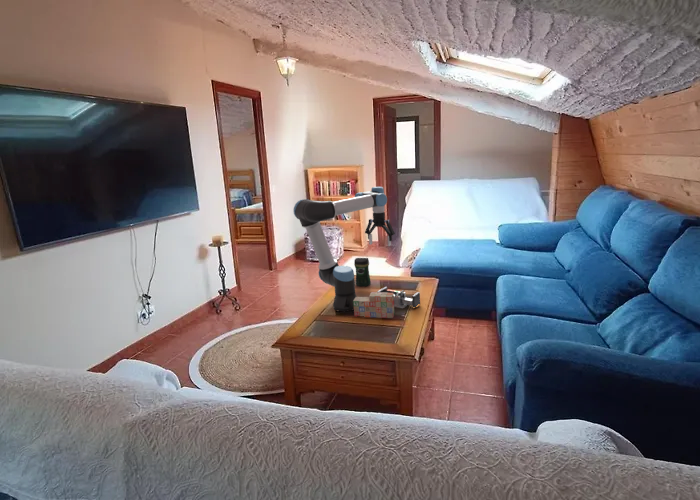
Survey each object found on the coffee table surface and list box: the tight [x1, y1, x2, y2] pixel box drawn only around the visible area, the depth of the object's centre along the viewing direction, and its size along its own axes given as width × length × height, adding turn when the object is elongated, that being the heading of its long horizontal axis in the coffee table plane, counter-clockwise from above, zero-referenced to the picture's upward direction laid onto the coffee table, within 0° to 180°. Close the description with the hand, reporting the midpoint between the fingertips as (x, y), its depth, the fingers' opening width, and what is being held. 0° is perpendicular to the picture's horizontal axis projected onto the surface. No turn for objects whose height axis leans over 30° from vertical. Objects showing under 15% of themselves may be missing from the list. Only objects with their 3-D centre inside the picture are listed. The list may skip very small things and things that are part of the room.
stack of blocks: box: [353, 291, 395, 319], centre depth 220 cm, size 21×6×12 cm, turn 75°
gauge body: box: [376, 286, 408, 309], centre depth 235 cm, size 9×17×7 cm, turn 53°
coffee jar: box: [353, 257, 372, 287], centre depth 269 cm, size 10×8×19 cm
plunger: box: [395, 289, 421, 308], centre depth 230 cm, size 9×15×8 cm, turn 53°
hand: (380, 245), depth 259 cm, fingers open, 13 cm apart
